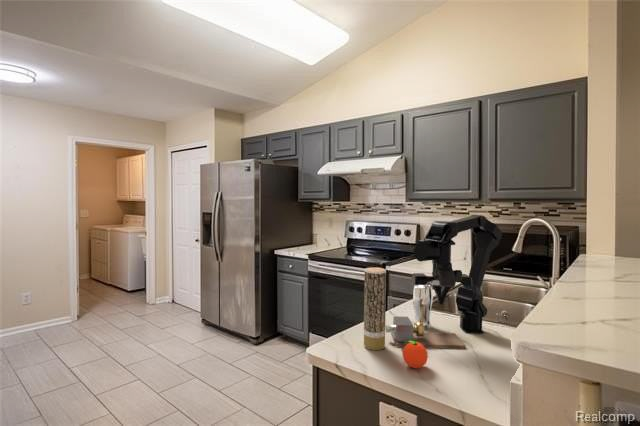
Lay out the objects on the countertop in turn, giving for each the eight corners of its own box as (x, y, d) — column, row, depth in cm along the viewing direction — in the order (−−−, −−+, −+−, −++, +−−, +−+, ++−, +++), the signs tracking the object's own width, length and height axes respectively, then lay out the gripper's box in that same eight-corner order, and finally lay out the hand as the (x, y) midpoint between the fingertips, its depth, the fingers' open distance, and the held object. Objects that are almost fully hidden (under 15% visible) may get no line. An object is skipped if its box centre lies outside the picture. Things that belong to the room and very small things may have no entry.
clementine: (394, 362, 101) (395, 338, 101) (412, 357, 104) (412, 334, 104) (414, 375, 94) (415, 349, 94) (432, 369, 97) (433, 344, 97)
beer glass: (433, 330, 126) (433, 289, 125) (413, 328, 127) (414, 288, 127) (430, 323, 133) (431, 284, 132) (412, 321, 134) (412, 283, 133)
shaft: (420, 333, 119) (420, 320, 118) (423, 338, 114) (424, 325, 114) (385, 332, 119) (385, 319, 119) (387, 338, 114) (387, 324, 114)
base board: (454, 335, 121) (454, 333, 121) (465, 348, 111) (465, 345, 111) (391, 334, 122) (391, 331, 122) (396, 346, 112) (396, 343, 112)
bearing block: (407, 333, 120) (407, 316, 120) (412, 342, 112) (413, 325, 112) (393, 332, 121) (393, 316, 120) (397, 342, 113) (397, 324, 112)
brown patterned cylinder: (389, 346, 112) (390, 269, 111) (377, 353, 107) (378, 273, 106) (371, 340, 117) (372, 266, 116) (359, 346, 112) (360, 269, 111)
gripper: (419, 263, 109) (418, 311, 110) (480, 263, 108) (478, 313, 109) (411, 256, 120) (410, 301, 121) (466, 257, 119) (465, 302, 120)
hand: (440, 304), depth 117 cm, fingers closed
